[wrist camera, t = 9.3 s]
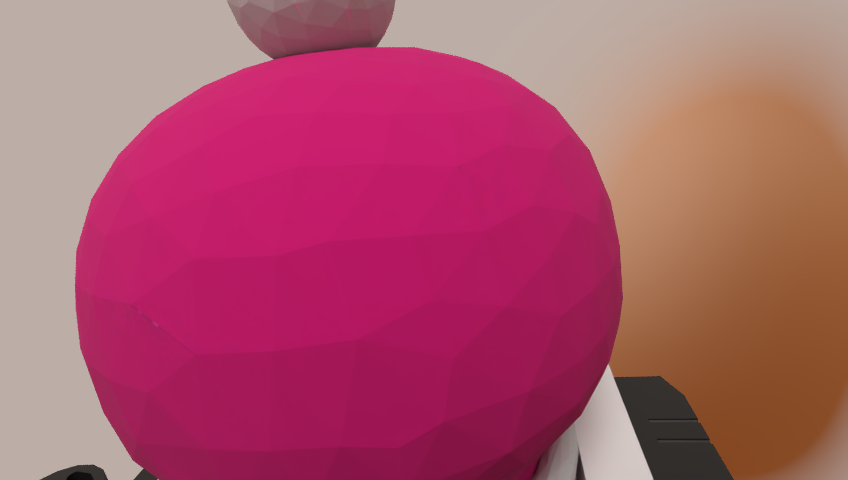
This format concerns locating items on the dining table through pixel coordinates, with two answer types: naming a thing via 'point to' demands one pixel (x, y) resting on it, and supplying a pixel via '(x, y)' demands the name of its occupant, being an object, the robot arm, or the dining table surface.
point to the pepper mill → (350, 267)
